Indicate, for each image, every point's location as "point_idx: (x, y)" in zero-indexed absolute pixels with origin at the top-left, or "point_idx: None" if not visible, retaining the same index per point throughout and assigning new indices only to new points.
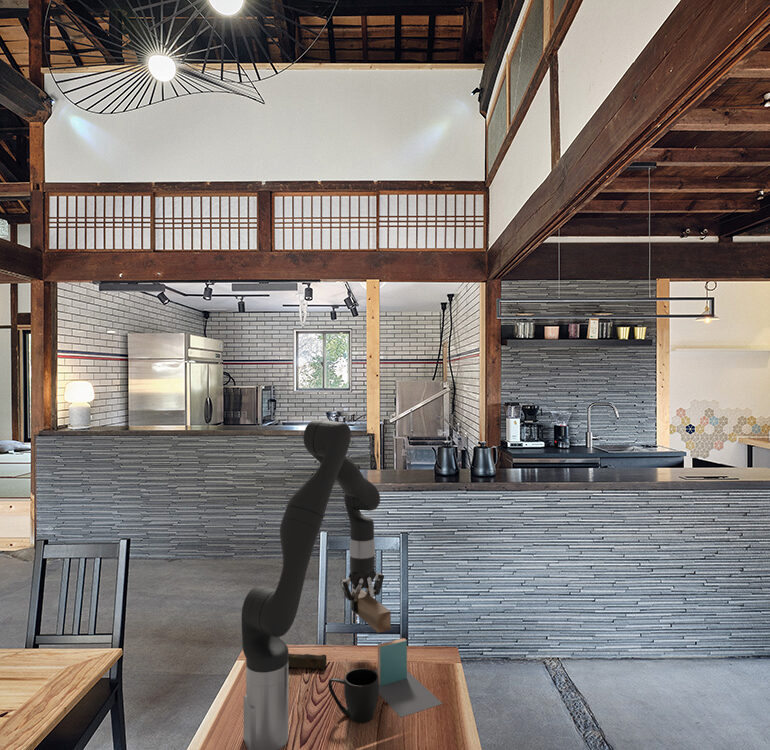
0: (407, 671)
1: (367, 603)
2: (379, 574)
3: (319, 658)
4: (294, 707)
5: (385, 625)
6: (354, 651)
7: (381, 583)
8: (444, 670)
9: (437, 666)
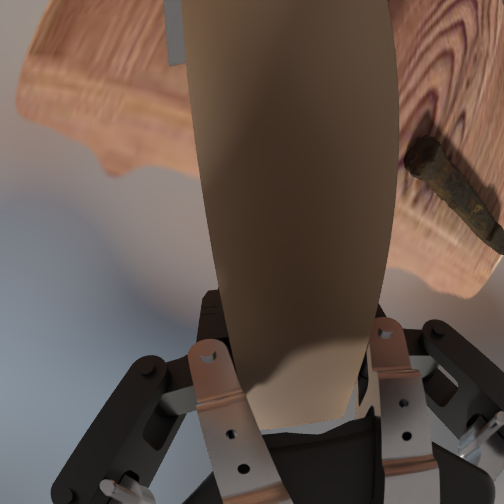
0: (166, 12)
1: (365, 178)
2: None
3: (443, 160)
4: (493, 47)
5: None
6: None
7: (90, 440)
8: (62, 19)
9: (67, 40)
